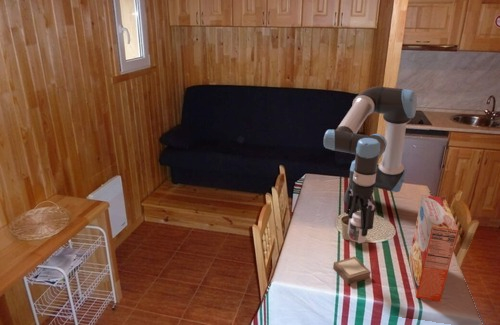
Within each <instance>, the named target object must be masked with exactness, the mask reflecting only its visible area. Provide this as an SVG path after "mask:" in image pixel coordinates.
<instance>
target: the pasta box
mask: <svg viewBox="0 0 500 325" xmlns="http://www.w3.org/2000/svg"><path fill="white" fill-rule="evenodd" d="M458 234H459V228H458V225H457V223H456V220H455V218H454V215H453V214H452V211H451V209H450V206H449V205H448V202H447V200H446V198H445V197H441V196H433V195H427V194H426V195H424V194H422V195H421V198H420V204H419V208H418V212H417V219H416V222H415V227H414V232H413V238H412V240H411V241H412V243H411V247H410V252H409V257H408V262H409V266H410V268H409V269H410V272H411V273H410V274H411V278H412V282H413V289H414V293H415V298H417V299H423V300H429V301H433V302H435V301H436V302H441V300H442V297H443V292H444V289H445V284H446V281H447V277H448V274H449V269H450V265H451V261H452V259H453V258H452V257H453V254H454V250H455V247H456V242H457V239H458Z"/></svg>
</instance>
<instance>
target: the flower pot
mask: <svg viewBox="0 0 500 325" xmlns="http://www.w3.org/2000/svg"><path fill="white" fill-rule="evenodd" d="M339 219H340V224H341V236H342V239H343V240H345V241H353V240H351V239H350V238H349V234H348V233H347V232H348V225H349V224H348V219H349V217H348V214H346V215H343V216H341V218H339ZM353 242H354V241H353Z"/></svg>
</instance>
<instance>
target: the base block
mask: <svg viewBox="0 0 500 325" xmlns="http://www.w3.org/2000/svg"><path fill="white" fill-rule="evenodd" d="M332 266H333V267H332V269H333V270H334V271H335V272H336V274H338V275H339V277H340V278H341V279H342V280H343V281H344V282H345V283H346V284H347V285H350V284H351V285H352V284H354V283H358V282H361V281H364V280H367V279H370V278H371V270H370V269H369V268H368V267H367V266H365V265H364V264H363V262H361V261H360V260H359V259H358V258H357V257H356V256H353V257H349V258H345V259H341V260H338V261H334V262H333V265H332Z"/></svg>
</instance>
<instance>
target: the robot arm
mask: <svg viewBox="0 0 500 325" xmlns="http://www.w3.org/2000/svg"><path fill="white" fill-rule="evenodd" d="M417 102H418V98H417V93H416V91H414V90H412V89H407V88H396V87H387V86H373V87H372V86H371V87H370V88H367V89H365V90H363V91H362V92H360V93H358V95H356V96H355V98H353V101H352V106H351V107H350V109H349V110H348V111H347V113H346V114H345V116H344V118H343V119H342V120H341V122H340V124H339V125H338V126H337V128H336V129H327V130H326V131H325V133H324V136H323V147H324V148H325V149H328V150H331V151H336V152H341V153H346V154H347V153H349V154H352V155H355V159H354V160H352V161H351V165H350V168H349V177H348V178H349V180H348V186H347V188H346V191H345V193H344V194H343V202H344V203H345V211H344V212H345V214H346V215H348V217H349V219H348V224H349V225H348V232H347V233H348V234H349V228H350V221H351V219H352V216H353V213H355V212H358V211H359V212H361V226H362V227H360V230H359V237H358V242H357V243H358V244H362V243H365V242H366V238H367V236H368V232H369V230H372V229H373V228H374V219H375V211H376V209H377V204H374V196H373V194H374V190H375V188H376V189H379V190H383V191H388V192H393V193H399V192H400V191H401V190H402V187H403V183H404V181H405V178H406V175H407V170H406V169H405V167H404V165H403V163H402V158H403V152H404V143H405V138H406V137H405V135H406V128H407V124H408V123H410V122H411V120H412V119H413V118H415V116H416V113H417V112H416V111H417V105H418V103H417ZM373 113H375V114H381V115H382V118H383V121H384V122H385V130H384V135H382V134H379V133H374V134H370V135H366V134H360V133H358V132H359V130H360V128H361V127H362V125H363V123H364V122H365V121H366V119H367V117H368V116H370V115H371V114H373ZM380 158H382V160H381V161H380V162H379V160H380Z"/></svg>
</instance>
